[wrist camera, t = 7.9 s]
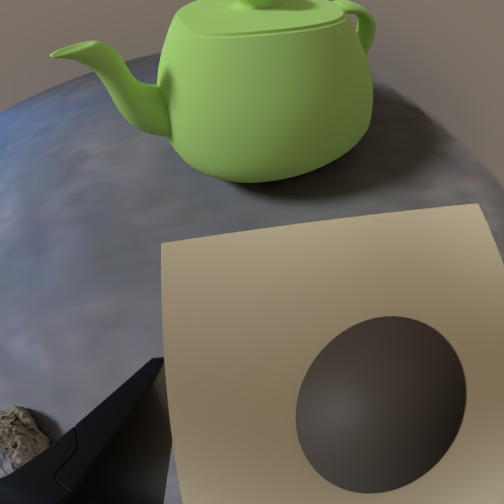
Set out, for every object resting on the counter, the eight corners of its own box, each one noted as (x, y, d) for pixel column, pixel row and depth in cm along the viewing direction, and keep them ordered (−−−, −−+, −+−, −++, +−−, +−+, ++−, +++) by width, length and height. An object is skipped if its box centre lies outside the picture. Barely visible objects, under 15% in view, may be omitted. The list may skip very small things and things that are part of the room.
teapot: (143, 265, 19) (21, 113, 7) (114, 131, 25) (61, 18, 14) (412, 158, 22) (465, 20, 10) (317, 66, 28) (323, -42, 16)
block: (351, 428, 14) (534, 488, 2) (255, 444, 14) (201, 595, 2) (337, 339, 16) (480, 199, 4) (243, 353, 16) (156, 238, 4)
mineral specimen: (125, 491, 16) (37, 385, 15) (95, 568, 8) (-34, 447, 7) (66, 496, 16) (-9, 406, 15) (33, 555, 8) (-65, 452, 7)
